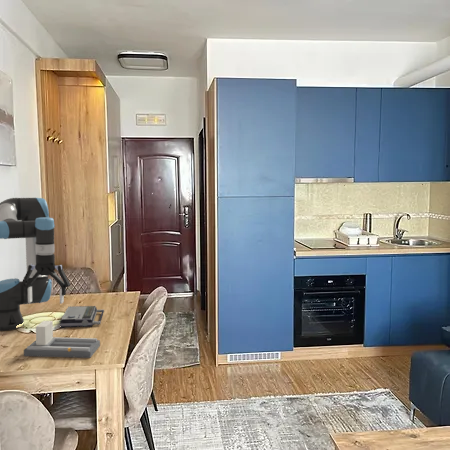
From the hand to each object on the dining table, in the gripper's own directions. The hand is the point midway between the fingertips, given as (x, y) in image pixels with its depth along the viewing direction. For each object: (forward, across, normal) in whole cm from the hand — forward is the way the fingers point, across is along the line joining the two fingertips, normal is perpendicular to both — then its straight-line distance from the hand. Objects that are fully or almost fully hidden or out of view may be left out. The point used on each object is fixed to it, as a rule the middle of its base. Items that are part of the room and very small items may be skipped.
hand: (45, 302), depth 196 cm
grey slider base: (+21, +7, -1) cm, 22 cm away
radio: (+21, +3, +42) cm, 47 cm away
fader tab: (+18, -1, -1) cm, 18 cm away
